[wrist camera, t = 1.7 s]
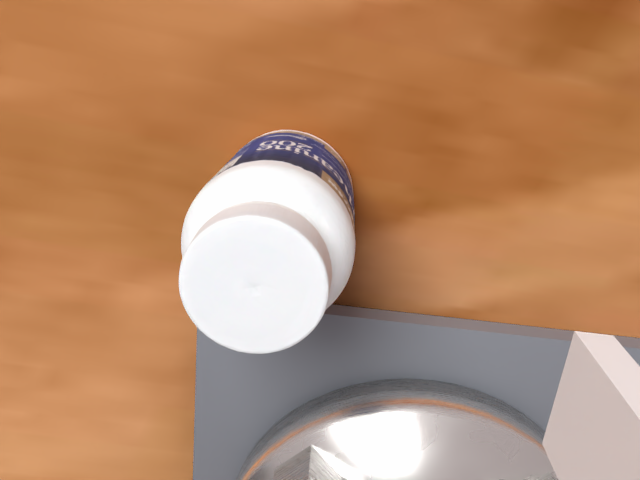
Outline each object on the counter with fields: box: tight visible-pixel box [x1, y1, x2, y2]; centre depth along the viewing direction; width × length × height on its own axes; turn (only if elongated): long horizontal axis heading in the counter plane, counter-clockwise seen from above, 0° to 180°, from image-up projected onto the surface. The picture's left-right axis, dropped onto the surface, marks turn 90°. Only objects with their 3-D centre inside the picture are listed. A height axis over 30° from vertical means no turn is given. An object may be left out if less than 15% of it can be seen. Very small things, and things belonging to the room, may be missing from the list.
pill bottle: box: [179, 130, 356, 354], centre depth 19 cm, size 5×5×10 cm
